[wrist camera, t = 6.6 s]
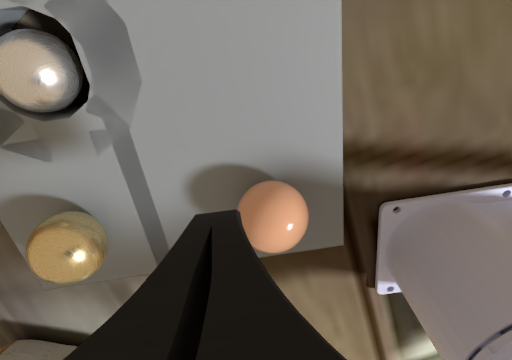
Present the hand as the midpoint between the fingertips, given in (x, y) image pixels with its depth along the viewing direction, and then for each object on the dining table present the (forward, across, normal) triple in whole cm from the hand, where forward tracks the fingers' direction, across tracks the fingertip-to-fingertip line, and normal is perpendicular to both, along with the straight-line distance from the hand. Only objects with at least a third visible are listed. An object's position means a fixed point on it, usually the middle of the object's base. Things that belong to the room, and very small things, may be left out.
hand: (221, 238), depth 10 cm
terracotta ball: (+5, -2, +3) cm, 6 cm away
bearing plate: (+9, +3, -2) cm, 10 cm away
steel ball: (+8, +8, -5) cm, 12 cm away
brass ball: (+5, +8, +3) cm, 10 cm away
